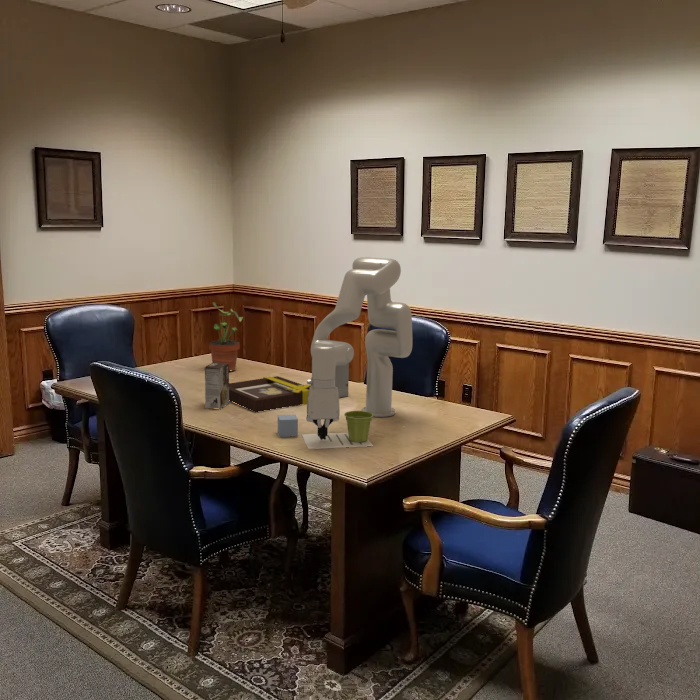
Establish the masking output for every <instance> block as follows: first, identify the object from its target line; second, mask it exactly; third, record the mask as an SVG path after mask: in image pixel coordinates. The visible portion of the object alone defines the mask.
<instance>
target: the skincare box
mask: <svg viewBox="0 0 700 700" xmlns="http://www.w3.org/2000/svg"><path fill="white" fill-rule="evenodd" d="M349 363H350V362H349ZM349 363H348V364H346V365H337V366H336V369H335V386H336V387H337V388H338V393H339V399H342V398H345V397H349V378H350V377H349V373H350V364H349Z"/></svg>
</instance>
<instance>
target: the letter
mask: <svg viewBox="0 0 700 700" xmlns="http://www.w3.org/2000/svg"><path fill="white" fill-rule="evenodd" d="M301 437H302V439H303V441H304V443H305V445H306V447H307V450H320V449H321V450H323V449H324V450H325V449H343V448H346V447H349V448H367V446H371V447H374V445H373V443H372V442H371V441H370V439H368V440H367V441H363V442H353V441H352V440H349V435H348V432H334V433H331V432H328V433H327V436H326V440H324V439H322V440H321V439H320V438H319V437H318V433H308V434H304V433H303V434H301Z"/></svg>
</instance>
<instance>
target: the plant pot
mask: <svg viewBox="0 0 700 700" xmlns="http://www.w3.org/2000/svg"><path fill="white" fill-rule="evenodd" d="M344 417H345V421H346V425H347V426H346V427H347V433H348V435H349V440H352V441H353V442H363V441H367V440H369V438H368V437H369V432H370V427H371V422H372V419H373V418H374V417H373V414H372V413H370V412H365V411H362V410H350V411H347V412H345V413H344Z"/></svg>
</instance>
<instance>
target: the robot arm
mask: <svg viewBox="0 0 700 700" xmlns="http://www.w3.org/2000/svg"><path fill="white" fill-rule="evenodd" d="M401 269H402V268H401V264H400V263H399V261H398V260H396V259H393V258H382V257H380V258H379V257H370V256H368V257H367V256H366V257H358V258H356V259H354V261H353V263H352V269H349V270H348V271H347V272H346V273H345V274H344V277H343V281H342V283H341V288H340V290H339V294H338V296H337V300H336V304H335V308H334V309H333V310H332V311H331V312H330V313H329V314H327V315H326V316H325V317H324V318H323V319H322V320H321V321H320V322H319V324H318V325H317V327H316V329H315V331H314V334H313V337H312V341H311V345H310V357H311V378H310V379H307V380H306V385H312V386H311V387H310V388H309V393H308V401H307V404H306V417H305V418H306V421H307V422H308V423H313V424H314V425H315V426H316V427H317V434H318V437H319V438H320V439H321V440H322V439H324V440H326V436H327V433H329V432H328V431H329V430H328V428H329V426H330V425H331V424H332V423H333V422H337V421H339V420H340V398H339V393H338V388H337V387H336V386H335V369H336V366H337V365H346V364H348V363H351V362H352V360H353V359H354V356H355V350H354V347H353V346H352V345H351V344H350V343H348V342H347V341H346V342H344V341H339V340H331V339H330V340H329V339H328V338H329V336H330V334H331V333H332V332H333V331H334V330H336V328H338V327H340V326H343V325H345V324H347V323H350V322H353V321H355V320H357V319H358V318H359V317H360V315H361V311H362V307H363V304H364V301H365V297H366V301H367V303H366V304H367V320H368V322H369V324H370V325H371V326H373V327H377V329H372V330H370V331H368V332H367V334H366V335H365V339H364V340H365V341H364V343H365V350H366V363H367V364H366V366H367V367H366V394H365V396H366V398H365V399H366V400H365V406H364V407H361V411H365V412H370V413H372V414H373V417H372V418H375V417H376V418H388V417H391V416H394V415H395V414H396V409H395V408H393V407H392V404H393V403H392V399H393V398H392V396H393V374H394V373H393V372H394V370H393V369H394V368H393V364H392V362H391V359H390V358H391V357H393V358H401V359H404V358H408V357H409V356H410V355H411V353H412V350H413V317H412V315H413V314H412V311H411V308H410V306H409V305H408V304H406V303H403V302H400V301H399V302H397V301H392V297H391V288H392V287H393V286H394V285H395V284H396V283H397V282H398V281H399V279H400V276H401V272H402V270H401ZM384 328H386V329H384ZM390 329H394V330H390ZM322 420H323V424H322Z"/></svg>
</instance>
